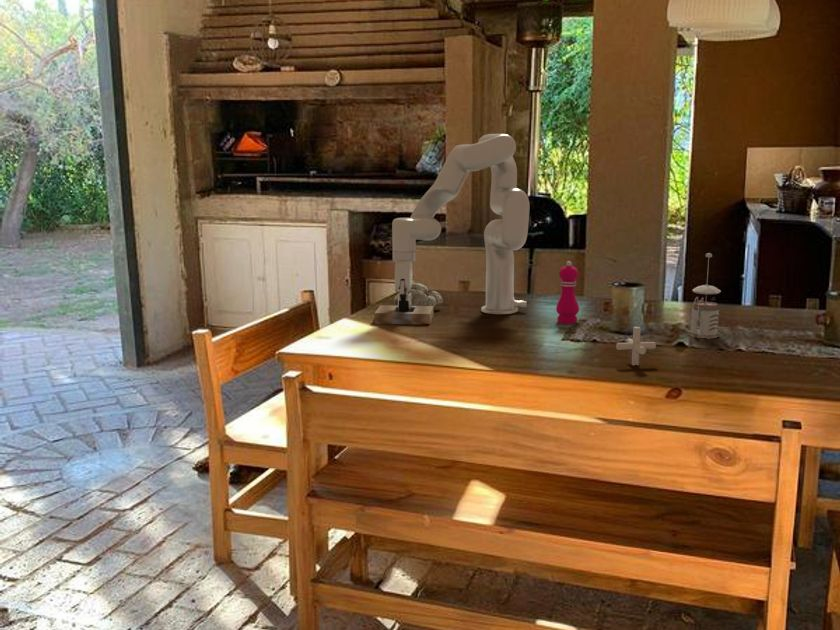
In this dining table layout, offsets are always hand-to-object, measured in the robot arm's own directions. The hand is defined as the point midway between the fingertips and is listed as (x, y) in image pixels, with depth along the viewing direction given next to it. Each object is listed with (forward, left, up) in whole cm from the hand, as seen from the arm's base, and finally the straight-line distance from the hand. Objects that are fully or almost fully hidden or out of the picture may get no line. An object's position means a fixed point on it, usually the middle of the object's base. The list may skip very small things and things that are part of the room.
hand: (404, 310), depth 273 cm
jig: (0, 0, -3) cm, 3 cm away
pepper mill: (-53, 0, -3) cm, 53 cm away
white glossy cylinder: (0, 0, -1) cm, 1 cm away
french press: (-92, +16, -3) cm, 93 cm away
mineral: (-3, -19, -3) cm, 20 cm away
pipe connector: (-67, +51, -3) cm, 84 cm away
